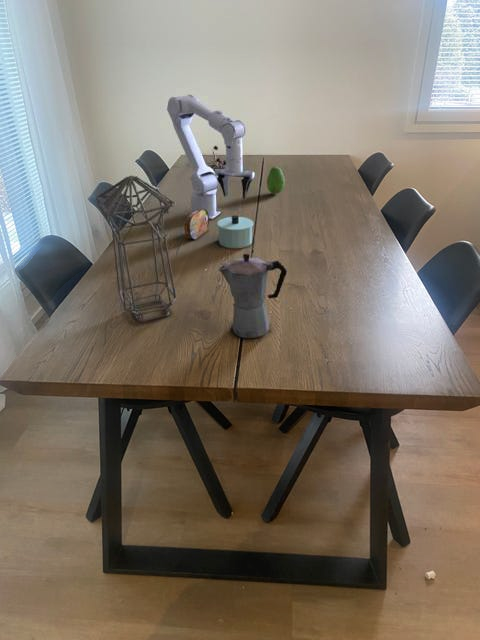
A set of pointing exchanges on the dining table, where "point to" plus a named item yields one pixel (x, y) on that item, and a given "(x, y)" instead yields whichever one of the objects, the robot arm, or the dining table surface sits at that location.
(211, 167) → the decorative branch
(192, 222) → the tin
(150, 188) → the geometric lantern
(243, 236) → the pot
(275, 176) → the avocado
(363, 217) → the dining table surface
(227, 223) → the pot lid
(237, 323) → the moka pot
